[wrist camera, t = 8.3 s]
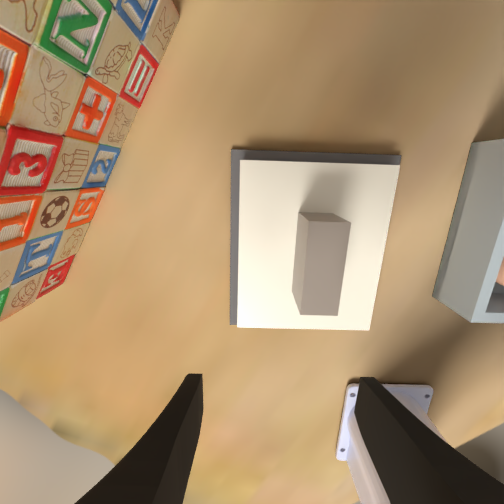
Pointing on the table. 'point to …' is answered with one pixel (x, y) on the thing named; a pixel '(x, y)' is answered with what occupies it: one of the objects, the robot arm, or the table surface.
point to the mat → (280, 156)
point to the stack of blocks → (65, 124)
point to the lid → (311, 242)
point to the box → (476, 240)
